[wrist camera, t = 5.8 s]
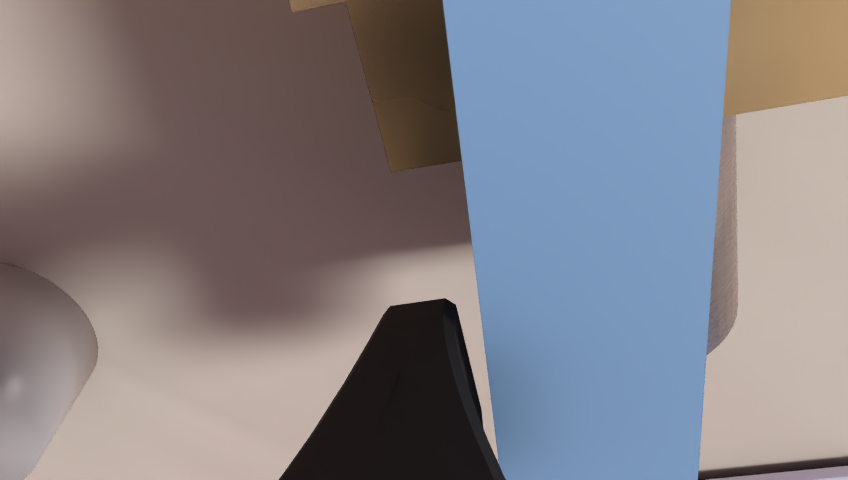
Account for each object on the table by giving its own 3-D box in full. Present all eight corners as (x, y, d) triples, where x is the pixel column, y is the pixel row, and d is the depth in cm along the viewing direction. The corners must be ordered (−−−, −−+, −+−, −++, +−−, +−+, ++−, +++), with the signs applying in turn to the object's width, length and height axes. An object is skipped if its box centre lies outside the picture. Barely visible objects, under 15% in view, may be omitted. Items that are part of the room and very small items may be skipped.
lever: (753, -868, 6) (901, -1190, 4) (682, 453, 13) (720, 587, 11) (319, -763, 6) (241, -1007, 4) (484, 462, 13) (486, 594, 11)
